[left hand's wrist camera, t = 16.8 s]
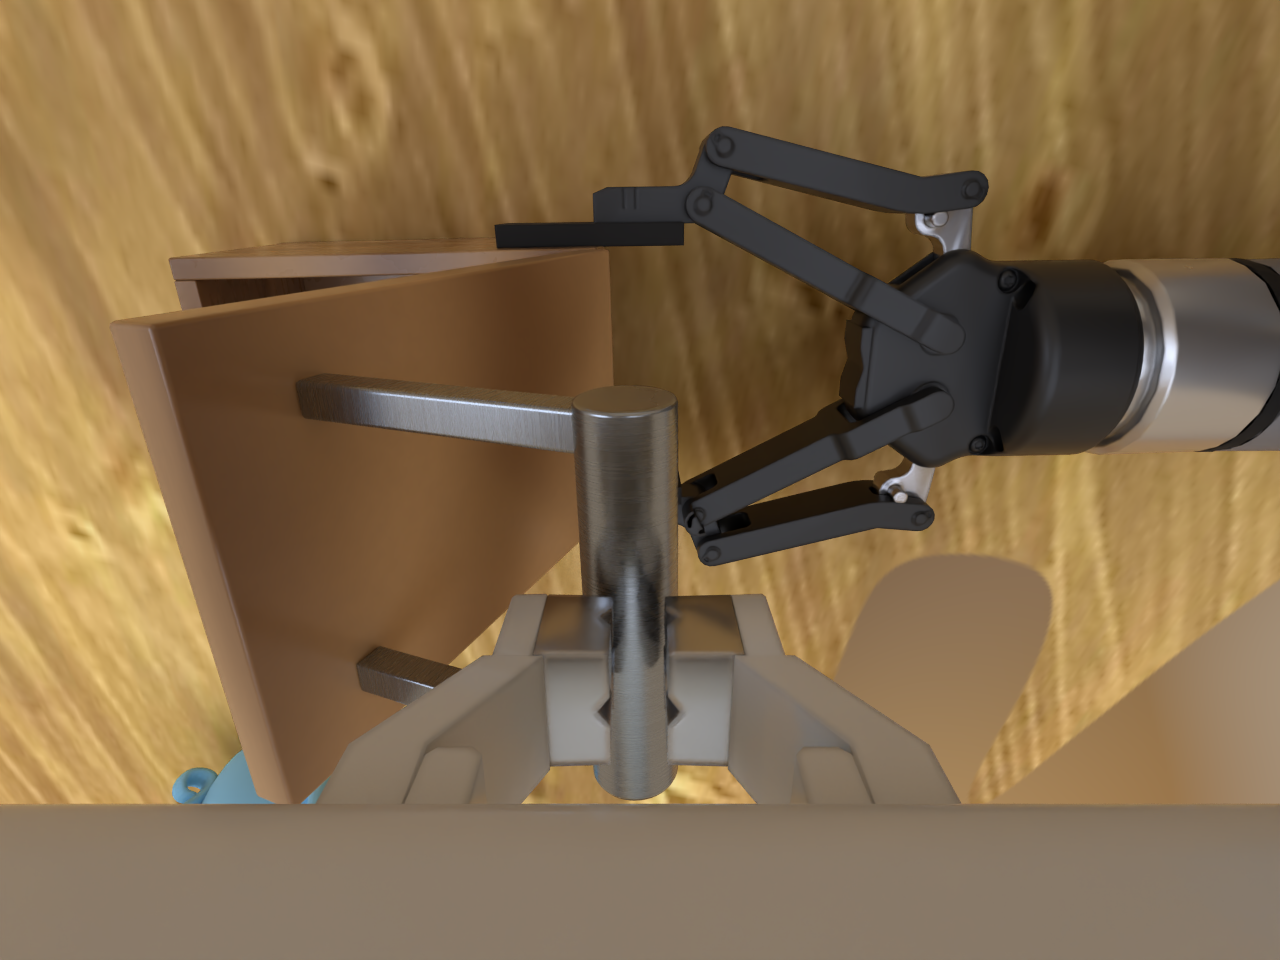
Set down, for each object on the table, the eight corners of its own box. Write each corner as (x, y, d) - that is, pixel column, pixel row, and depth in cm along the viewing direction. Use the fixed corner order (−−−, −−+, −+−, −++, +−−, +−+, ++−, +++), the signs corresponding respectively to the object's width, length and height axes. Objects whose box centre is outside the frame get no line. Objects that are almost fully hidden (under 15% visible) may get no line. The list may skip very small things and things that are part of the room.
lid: (255, 797, 13) (621, 951, 10) (104, 321, 10) (593, 355, 7) (595, 501, 26) (801, 534, 23) (582, 248, 22) (824, 250, 20)
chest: (326, 435, 34) (235, 508, 26) (286, 242, 31) (166, 257, 23) (611, 428, 34) (607, 498, 26) (603, 235, 31) (597, 247, 23)
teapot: (272, 859, 45) (173, 1059, 35) (179, 695, 39) (28, 879, 29) (458, 833, 45) (413, 1028, 35) (393, 663, 39) (316, 839, 29)
